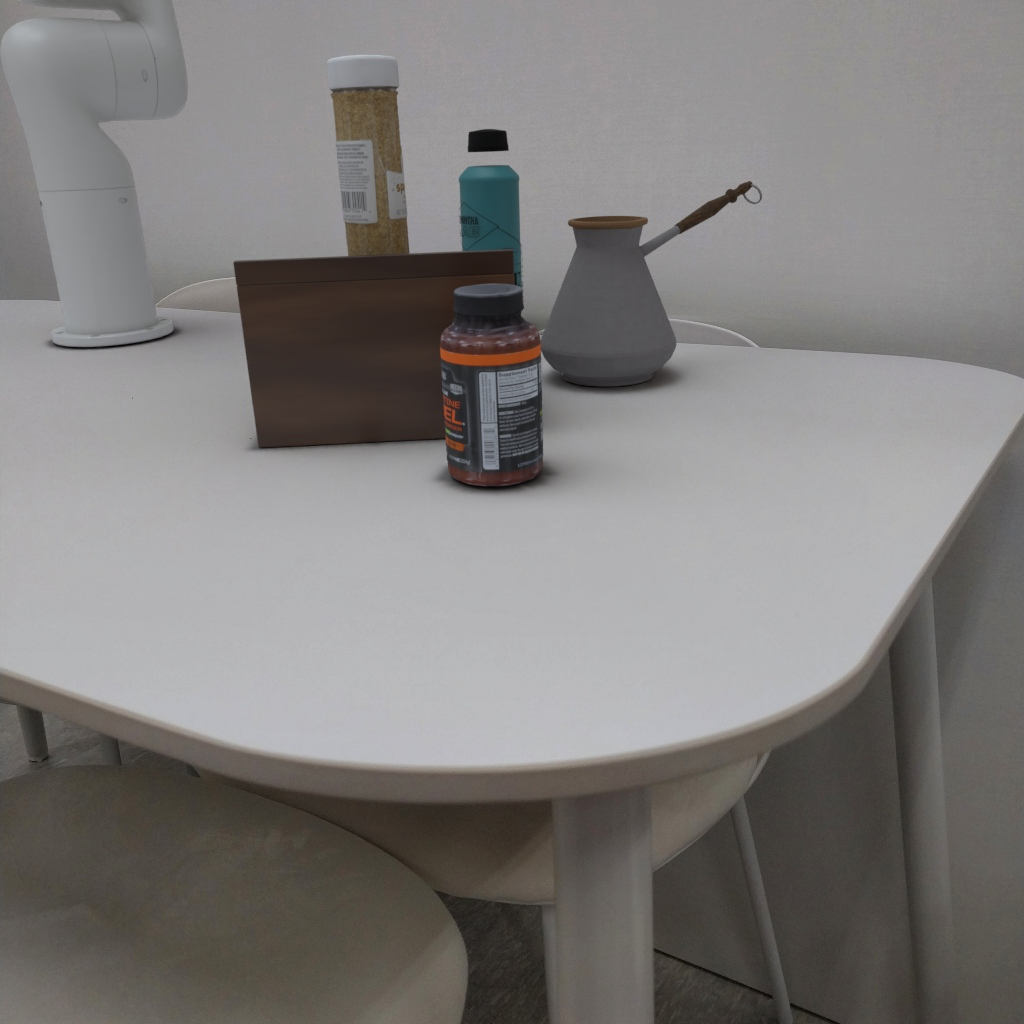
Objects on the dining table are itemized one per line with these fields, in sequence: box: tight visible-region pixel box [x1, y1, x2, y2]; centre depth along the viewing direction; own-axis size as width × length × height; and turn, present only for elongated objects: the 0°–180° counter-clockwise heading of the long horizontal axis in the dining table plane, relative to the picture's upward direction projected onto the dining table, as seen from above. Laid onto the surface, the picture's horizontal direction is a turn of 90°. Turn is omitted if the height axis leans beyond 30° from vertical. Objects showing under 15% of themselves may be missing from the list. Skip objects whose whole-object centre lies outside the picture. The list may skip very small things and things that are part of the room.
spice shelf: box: [232, 249, 514, 448], centre depth 72 cm, size 16×18×12 cm
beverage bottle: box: [458, 128, 525, 313], centre depth 101 cm, size 6×7×20 cm
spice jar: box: [326, 54, 410, 256], centre depth 65 cm, size 5×5×13 cm
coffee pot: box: [540, 180, 763, 387], centre depth 82 cm, size 21×12×15 cm, turn 119°
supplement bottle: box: [440, 284, 544, 488], centre depth 58 cm, size 6×6×11 cm
